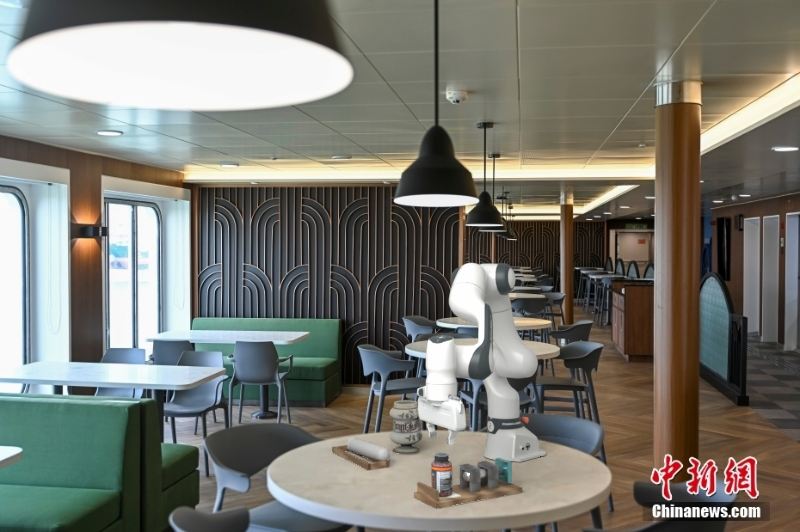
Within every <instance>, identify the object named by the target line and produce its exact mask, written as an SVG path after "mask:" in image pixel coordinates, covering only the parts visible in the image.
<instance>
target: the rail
mask: <svg viewBox="0 0 800 532" xmlns="http://www.w3.org/2000/svg"><path fill="white" fill-rule="evenodd" d="M484 468H486V469H488V478H484V479H480V469H484ZM466 471H468V472H470V481H467V482H466V481H465V480H464V478H463V473H464V472H466ZM416 487H417V488H416V489H417V490H416V491H415V492H413V498H415V499H416V500H417V501H420V502H422V503H424V504H425V505H428V506H429V505H430V506H429V507H431V506H432V508H433V507H434V508H433V509H435V508H436V509H435V510H438V509H437V508H439V509H443V508H442V507H445V508H447V507H446V506H450V507H453V506H452V505H455V506H457V505H456V504H460V505H462V504H461V503H465V504H467V503H466V502H471V501H476V502H478V501H477V500H481V499H486V500H488V499H487V498H491V499H494V498H493V497H497V498H500V497H499V496H502V497H505V496H504V495H507V496H511V494H512V495H517V494H521V493H523V487H522V486H520V485H517V484H515V483H513V482H511V483H506V482H504V481H501V480H499V479H498V465H496V464H495V463H492V462H490V461H487V460H482V461H477V466H475V465H472V464H470V463H464V464H459V484H455V485H453V484H452V494H451V495H449V496H444V497H440V496H439V491H438V490H436V489H434V488H432V486H429V485H428V484H425V483H423V482H421V481H420V482H419V481H418V482H416ZM516 493H517V494H516ZM481 501H482V500H481ZM471 503H472V502H471Z"/></svg>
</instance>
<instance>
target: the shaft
mask: <svg viewBox="0 0 800 532" xmlns="http://www.w3.org/2000/svg"><path fill="white" fill-rule="evenodd" d="M494 462H495V463H494V464H496V465H498V479H499V480H501V481H504V482H506V483H513V461H508V460H505V459H502V458H495V461H494ZM463 478H464V480H465V481H466V482H467V481H470V472H468V471H466V472H464V473H463ZM484 478H488V469H486V468H484V469H480V479H484Z"/></svg>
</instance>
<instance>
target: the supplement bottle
mask: <svg viewBox="0 0 800 532" xmlns="http://www.w3.org/2000/svg"><path fill="white" fill-rule="evenodd" d="M449 459H450V458H449V453H445V452H437V453H435V454H434V460H433V461H432V462H431V468H430V469H431V471H430V472H431V473H430V474H431V475H430V476H431V487H432V488H434V489H436V490H438V491H439V496H440V497H444V496H449V495H451V494H452V486H453V464H452V462H451V461H449Z"/></svg>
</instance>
